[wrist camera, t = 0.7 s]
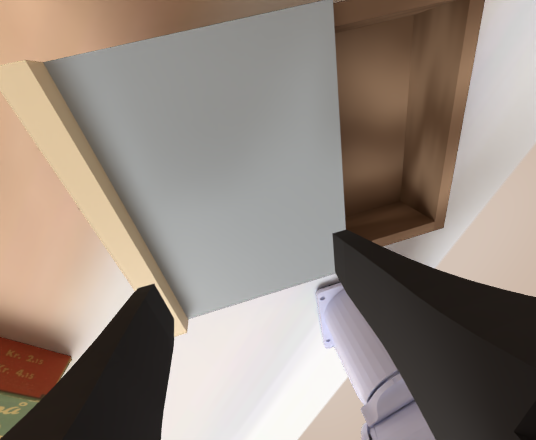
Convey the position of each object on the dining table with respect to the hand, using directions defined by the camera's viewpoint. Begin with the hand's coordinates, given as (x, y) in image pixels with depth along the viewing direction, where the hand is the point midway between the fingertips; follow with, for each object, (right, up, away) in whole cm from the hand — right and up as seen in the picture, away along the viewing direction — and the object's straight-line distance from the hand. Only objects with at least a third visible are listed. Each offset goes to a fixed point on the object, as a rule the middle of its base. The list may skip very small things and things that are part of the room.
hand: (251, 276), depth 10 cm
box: (+5, +8, +8) cm, 13 cm away
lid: (-1, +4, +3) cm, 5 cm away
